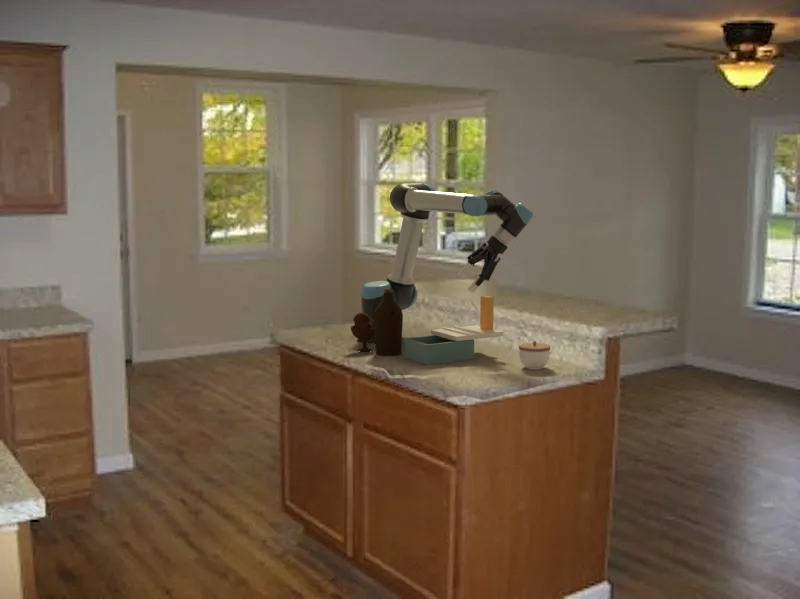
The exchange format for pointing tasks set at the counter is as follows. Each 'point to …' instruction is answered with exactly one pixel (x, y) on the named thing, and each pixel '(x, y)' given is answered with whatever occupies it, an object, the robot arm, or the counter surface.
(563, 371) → the counter surface
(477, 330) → the lid
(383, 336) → the olive oil
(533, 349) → the lidded jar
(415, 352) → the tub
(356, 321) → the ice cream bowl
